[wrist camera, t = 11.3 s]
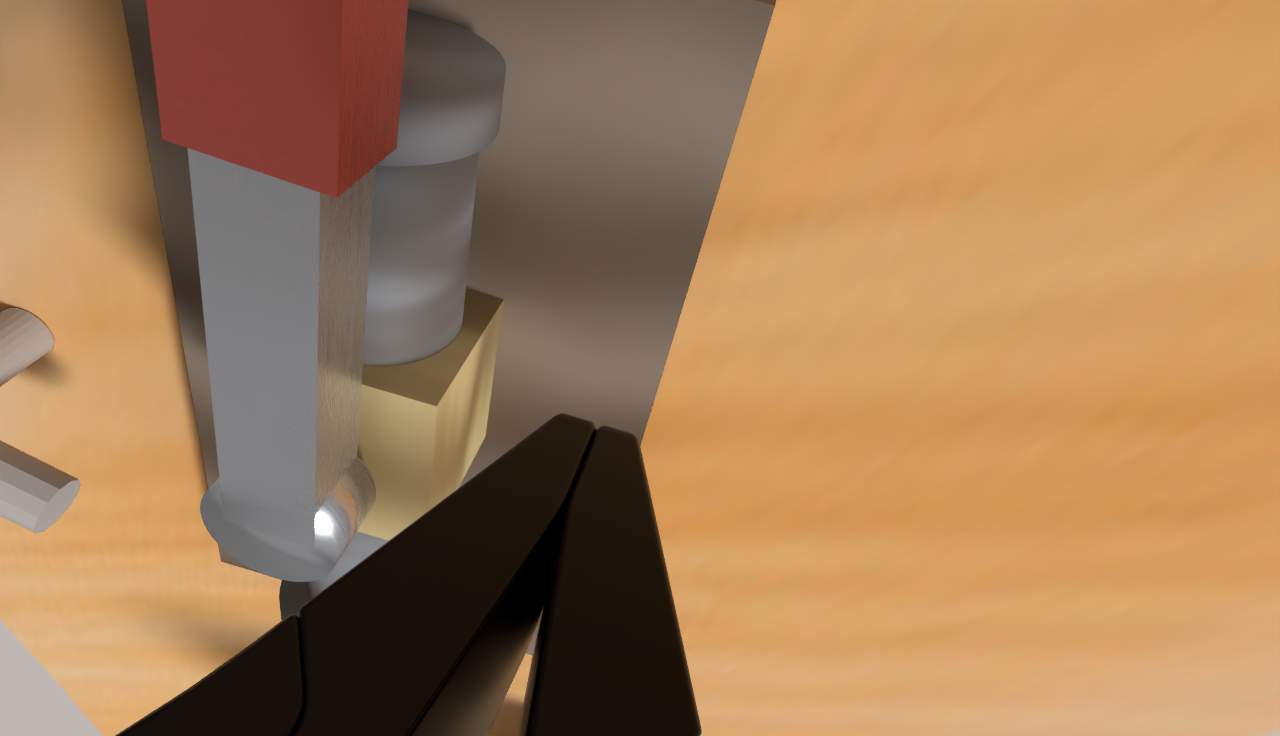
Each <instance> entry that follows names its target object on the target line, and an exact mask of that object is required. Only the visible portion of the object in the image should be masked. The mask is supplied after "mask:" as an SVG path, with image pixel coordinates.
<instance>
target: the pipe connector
mask: <svg viewBox="0 0 1280 736" xmlns="http://www.w3.org/2000/svg"><path fill="white" fill-rule="evenodd" d="M53 346H54V339H53V336H52V334H51V332H50V331H49V329H48V328H47V326H46V325H45V324H44V323H43V322H42V321H41V320H40V319H38V318H37V317H36V316H34V315H33V314H31V313H29V312H27V311H25V310H23V309H19V308H8V309H5V310H4V311H2V312H1V313H0V387H1V386H2V385H3V384H5V383H6V382H8V381H9V380H10V379H12V378H13V377H14V376H16V375H17V374H19V373H20V372H21V371H23V370H24V369H26V368H27V367H28V366H30V365H31V364H32V363H34V362H35V361H37V360H38V359H39V358H41V357H42V356H44V355H45V354H46V353H48V352H49V351H50V350H51V349H52V348H53ZM79 488H80V481H79V479H77V478H75V477H73V476H71V475H69V474H67V473H65V472H63V471H61V470H59V469H57V468H55V467H53V466H51V465H49V464H47V463H45V462H43V461H41V460H39V459H37V458H35V457H33V456H31V455H29V454H26V453H24V452H22V451H20V450H18V449H16V448H14V447H12V446H10V445H8V444H6V443H4V442H2V441H0V516H1V517H3V518H5V519H7V520H9V521H11V522H13V523H16V524H18V525H20V526H22V527H24V528H26V529H28V530H30V531H32V532H34V533H39V532H43V531H45V530H46V529H48V528H49V527H50V526H51V525H53V524H54V523H55V522H56V521H57V520H58V519H59V518H60V517H61V516H62V515H63V514H64V512H65V511H66V510H67V509H68V508H69V506H70V505H71V503H72V502H73V500H74V499H75V497H76V496H77V493H78V490H79Z"/></svg>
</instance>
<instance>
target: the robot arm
mask: <svg viewBox="0 0 1280 736" xmlns="http://www.w3.org/2000/svg"><path fill="white" fill-rule="evenodd" d="M541 615H542V616H541ZM540 618H541V620H540ZM539 620H540V625H539V629H538V634H537V638H536V643H535V647H534V652H533V657H532V662H531V667H530V673H529V678H528V683H527V688H526V693H525V698H524V704H523V709H522V714H521V719H520V724H519V730H518V735H517V736H700V735H701V732H702V730H701V725H700V720H699V716H698V711H697V706H696V702H695V697H694V693H693V688H692V683H691V679H690V674H689V669H688V665H687V660H686V656H685V651H684V646H683V642H682V637H681V633H680V628H679V623H678V619H677V614H676V610H675V605H674V600H673V596H672V591H671V586H670V582H669V577H668V573H667V568H666V563H665V559H664V554H663V550H662V545H661V540H660V536H659V531H658V527H657V522H656V517H655V513H654V508H653V503H652V499H651V494H650V490H649V485H648V480H647V476H646V471H645V467H644V462H643V457H642V453H641V448H640V444H639V440H638V438H637V436H636V435H635V434H633V433H630V432H626V431H623V430H619V429H616V428H613V427H609V426H605V425H603V426H600V427H599V428H598V429H597V428H596V425H595V424H594V422H592V421H589V420H585V419H582V418H578V417H575V416H572V415H568V414H564V413H561V414H557V415H556V416H554V417H553V418H551V419H550V420H549V421H547V422H546V423H545V424H543V425H542V426H541V427H539V428H538V429H537V430H535V431H534V432H533V433H531V434H530V435H529V436H527V437H526V438H525V439H523V440H522V441H521V442H519V443H518V444H517V445H516V446H514V447H513V448H512V449H510V450H509V451H508V452H506V453H505V454H504V455H502V456H501V457H500V458H498V459H497V460H496V461H494V462H493V463H492V464H490V465H489V466H488V467H486V468H485V469H484V470H482V471H481V472H480V473H478V474H477V475H476V476H474V477H473V478H472V479H470V480H469V481H468V482H466V483H465V484H464V485H462V486H461V487H460V488H458V489H457V490H456V491H454V492H453V493H452V494H450V495H449V496H448V497H446V498H445V499H444V500H442V501H441V502H440V503H438V504H437V505H436V506H434V507H433V508H432V509H430V510H429V511H428V512H427V513H425V514H424V515H423V516H421V517H420V518H419V519H417V520H416V521H415V522H413V523H412V524H411V525H409V526H408V527H407V528H405V529H404V530H403V531H401V532H400V533H399V534H397V535H396V536H395V537H393V538H392V539H391V540H389V541H388V542H387V543H385V544H384V545H383V546H381V547H380V548H379V549H377V550H376V551H375V552H373V553H372V554H371V555H369V556H368V557H367V558H365V559H364V560H363V561H361V562H360V563H359V564H357V565H356V566H355V567H353V568H352V569H351V570H349V571H348V572H347V573H345V574H344V575H343V576H341V577H340V578H339V579H337V580H336V581H335V582H334V583H332V584H331V585H330V586H328V587H327V588H326V589H324V590H323V591H322V592H320V593H319V594H318V595H316V596H315V597H314V598H312V599H311V600H310V601H308V602H307V603H306V604H304V605H303V606H302V607H300V608H299V610H298V617H297V616H296V615H294V614H292V615H289V616H288V617H286V618H285V619H284V620H282V621H281V622H280V623H278V624H277V625H276V626H274V627H273V628H272V629H270V630H269V631H268V632H266V633H265V634H264V635H263V636H261V637H260V638H259V639H257V640H256V641H255V642H253V643H252V644H251V645H249V646H248V647H246V648H245V649H244V650H242V651H241V652H239V653H238V654H237V655H235V656H234V657H232V658H231V659H230V660H228V661H227V662H225V663H224V664H223V665H221V666H220V667H218V668H217V669H216V670H214V671H213V672H211V673H210V674H209V675H207V676H206V677H204V678H203V679H201V680H200V681H199V682H197V683H196V684H194V685H193V686H192V687H190V688H189V689H187V690H186V691H184V692H183V693H181V694H179V695H178V696H176V697H175V698H173V699H172V700H170V701H169V702H167V703H165V704H164V705H162V706H161V707H159V708H158V709H156V710H154V711H153V712H151V713H150V714H148V715H147V716H145V717H144V718H142V719H140V720H139V721H137V722H136V723H134V724H133V725H131V726H130V727H128V728H126V729H125V730H123V731H122V732H120V733H119V734H117V735H116V736H487V734H488V732H489V730H490V728H491V726H492V724H493V721H494V719H495V717H496V715H497V713H498V711H499V709H500V706H501V704H502V702H503V700H504V698H505V696H506V694H507V692H508V689H509V687H510V685H511V683H512V681H513V679H514V677H515V675H516V672H517V670H518V668H519V666H520V664H521V662H522V660H523V658H524V655H525V653H526V651H527V649H528V647H529V644H530V642H531V640H532V638H533V635H534V633H535V631H536V628H537V626H538V623H539Z"/></svg>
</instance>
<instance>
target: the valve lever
mask: <svg viewBox="0 0 1280 736" xmlns="http://www.w3.org/2000/svg"><path fill="white" fill-rule="evenodd" d="M146 4H147V12H148V21H149V29H150V38H151V46H152V55H153V64H154V72H155V81H156V89H157V98H158V106H159V115H160V123H161V132H162V139H163V140H165V141H168V142H171V143H174V144H177V145H180V146H183V147H186V148H188V159H189V169H190V179H191V190H192V200H193V210H194V221H195V231H196V241H197V252H198V262H199V272H200V283H201V293H202V303H203V314H204V324H205V334H206V345H207V355H208V365H209V376H210V386H211V396H212V407H213V417H214V427H215V438H216V448H217V458H218V469H219V478H218V479H217V481H216V482H215V483H214V484H213V485H212V486H211V487H210V488H209V490H208V491H207V492H206V493H205V494H204V496H203V498H202V500H201V505H200V510H201V516H202V519H203V522H204V525H205V526H206V528H207V530H208V532H209V533H210V534H211V536H212V537H213V538H214V540H215V541H216V542H217V543H218V544H219V545H220V546H221V547H222V548H223V549H224V550H225V551H226V552H228V553H229V554H230V555H231V556H233V557H234V558H235V559H237V560H238V561H240V562H241V563H243V564H244V565H246V566H248V567H250V568H252V569H254V570H256V571H258V572H260V573H262V574H265V575H268V576H271V577H274V578H277V579H281V580H286V581H294V582H309V581H315V580H318V579H321V578H323V577H325V576H327V575H328V574H329V573H330V572H332V570H333V569H334V567H335V566H336V564H337V563H338V561H339V559H340V558H341V556H342V555H343V553H344V552H345V550H346V548H347V547H348V545H349V544H350V542H351V540H352V539H353V537H354V536H355V534H356V532H357V531H358V529H359V528H360V526H361V525H362V523H363V521H364V520H365V518H366V517H367V515H368V513H369V512H370V510H371V509H372V507H373V505H374V503H375V499H376V487H375V483H374V480H373V477H372V475H371V473H370V471H369V470H368V468H367V467H366V465H365V464H364V463H363V462H362V460H361V459H360V458H359V457H358V456H357V451H358V435H359V418H360V402H361V386H362V370H363V354H364V338H365V321H366V305H367V289H368V273H369V257H370V241H371V224H372V208H373V192H374V176H375V166H376V165H377V164H378V163H379V162H381V161H382V160H383V159H384V158H385V157H387V156H388V155H389V154H390V153H391V152H393V151H394V150H395V149H396V148H397V139H398V126H399V113H400V101H401V88H402V75H403V63H404V50H405V37H406V25H407V12H408V0H146Z"/></svg>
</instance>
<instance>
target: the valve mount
mask: <svg viewBox="0 0 1280 736" xmlns="http://www.w3.org/2000/svg"><path fill="white" fill-rule="evenodd" d="M122 2H123V7H124V13H125V19H126V24H127V30H128V36H129V41H130V47H131V53H132V58H133V64H134V70H135V75H136V81H137V87H138V92H139V98H140V104H141V109H142V115H143V121H144V127H145V132H146V138H147V144H148V149H149V155H150V161H151V166H152V172H153V178H154V183H155V189H156V195H157V200H158V206H159V212H160V217H161V223H162V229H163V234H164V240H165V246H166V251H167V257H168V263H169V268H170V274H171V280H172V285H173V291H174V297H175V302H176V308H177V314H178V319H179V325H180V331H181V336H182V342H183V348H184V353H185V359H186V365H187V370H188V376H189V382H190V387H191V393H192V399H193V404H194V410H195V416H196V421H197V427H198V433H199V438H200V444H201V450H202V455H203V461H204V467H205V472H206V478H207V484H208V489H209V488H210V487H211V486H212V485H213V484H214V483H215V482H216V481H217V479H218V478H219V469H218V458H217V448H216V438H215V427H214V417H213V407H212V396H211V386H210V376H209V365H208V355H207V345H206V334H205V324H204V314H203V303H202V293H201V283H200V272H199V262H198V252H197V241H196V231H195V221H194V210H193V200H192V190H191V179H190V169H189V159H188V148H186V147H183V146H180V145H177V144H174V143H171V142H168V141H165V140H163V139H162V132H161V123H160V115H159V106H158V98H157V89H156V81H155V72H154V64H153V55H152V46H151V38H150V29H149V21H148V12H147V4H146V0H122ZM775 3H776V0H408V12H407V25H406V37H405V50H404V63H403V75H402V88H401V101H400V113H399V126H398V139H397V148H396V149H395V150H394V151H393V152H391V153H390V154H389V155H388V156H387V157H385V158H384V159H383V160H382V161H381V162H379V163H378V164H377V165H376V166H375V176H374V192H373V208H372V224H371V241H370V257H369V273H368V289H367V305H366V321H365V338H364V354H363V370H362V386H361V402H360V418H359V435H358V451H357V456H358V457H359V458H360V459H361V460H362V462H363V463H364V464H365V465H366V467H367V468H368V470H369V471H370V473H371V475H372V477H373V480H374V483H375V487H376V499H375V503H374V505H373V507H372V509H371V510H370V512H369V513H368V515H367V517H366V518H365V520H364V521H363V523H362V525H361V526H360V528H359V529H358V531H357V532H356V534H355V536H354V537H353V539H352V540H351V542H350V544H349V545H348V547H347V548H346V550H345V552H344V553H343V555H342V556H341V558H340V559H339V561H338V563H337V564H336V566H335V567H334V569H333V570H332V572H330V573H329V574H328V575H327V576H325V577H323V578H321V579H318V580H315V581H309V582H294V581H286V580H282V583H281V587H280V595H279V600H280V610H281V619H282V620H284V619H285V618H286V617H288V616H289V615H292V614H294V615H296V616H297V617H298V610H299V608H300V607H302V606H303V605H304V604H306V603H307V602H308V601H310V600H311V599H312V598H314V597H315V596H316V595H318V594H319V593H320V592H322V591H323V590H324V589H326V588H327V587H328V586H330V585H331V584H332V583H334V582H335V581H336V580H337V579H339V578H340V577H341V576H343V575H344V574H345V573H347V572H348V571H349V570H351V569H352V568H353V567H355V566H356V565H357V564H359V563H360V562H361V561H363V560H364V559H365V558H367V557H368V556H369V555H371V554H372V553H373V552H375V551H376V550H377V549H379V548H380V547H381V546H383V545H384V544H385V543H387V542H388V541H389V540H391V539H392V538H393V537H395V536H396V535H397V534H399V533H400V532H401V531H403V530H404V529H405V528H407V527H408V526H409V525H411V524H412V523H413V522H415V521H416V520H417V519H419V518H420V517H421V516H423V515H424V514H425V513H427V512H428V511H429V510H430V509H432V508H433V507H434V506H436V505H437V504H438V503H440V502H441V501H442V500H444V499H445V498H446V497H448V496H449V495H450V494H452V493H453V492H454V491H456V490H457V489H458V488H460V487H461V486H462V485H464V484H465V483H466V482H468V481H469V480H470V479H472V478H473V477H474V476H476V475H477V474H478V473H480V472H481V471H482V470H484V469H485V468H486V467H488V466H489V465H490V464H492V463H493V462H494V461H496V460H497V459H498V458H500V457H501V456H502V455H504V454H505V453H506V452H508V451H509V450H510V449H512V448H513V447H514V446H516V445H517V444H518V443H519V442H521V441H522V440H523V439H525V438H526V437H527V436H529V435H530V434H531V433H533V432H534V431H535V430H537V429H538V428H539V427H541V426H542V425H543V424H545V423H546V422H547V421H549V420H550V419H551V418H553V417H554V416H556V415H557V414H561V413H564V414H568V415H572V416H575V417H578V418H582V419H585V420H589V421H592V422H594V424H595V425H596V428H597V429H598V428H599V427H600V426H603V425H605V426H609V427H613V428H616V429H619V430H623V431H626V432H630V433H633V434H635V435H636V436H637V438H638V440H639V444H640V445H641V441H642V438H643V435H644V432H645V428H646V425H647V422H648V419H649V415H650V412H651V409H652V406H653V402H654V399H655V396H656V392H657V389H658V386H659V383H660V379H661V376H662V373H663V370H664V366H665V363H666V360H667V356H668V353H669V350H670V347H671V343H672V340H673V337H674V334H675V330H676V327H677V324H678V321H679V317H680V314H681V311H682V307H683V304H684V301H685V298H686V294H687V291H688V288H689V285H690V281H691V278H692V275H693V272H694V268H695V265H696V262H697V258H698V255H699V252H700V249H701V245H702V242H703V239H704V236H705V232H706V229H707V226H708V223H709V219H710V216H711V213H712V209H713V206H714V203H715V200H716V196H717V193H718V190H719V187H720V183H721V180H722V177H723V173H724V170H725V167H726V164H727V160H728V157H729V154H730V151H731V147H732V144H733V141H734V138H735V134H736V131H737V128H738V124H739V121H740V118H741V115H742V111H743V108H744V105H745V102H746V98H747V95H748V92H749V89H750V85H751V82H752V79H753V75H754V72H755V69H756V66H757V62H758V59H759V56H760V53H761V49H762V46H763V43H764V39H765V36H766V33H767V30H768V26H769V23H770V20H771V17H772V13H773V10H774V7H775ZM218 546H219V552H220V557H221V561H222V562H225V563H228V564H232V565H235V566H238V567H242V568H245V569H248V570H252V571H255V572H258V571H256V570H254V569H252V568H250V567H248V566H246V565H244V564H243V563H241V562H240V561H238V560H237V559H235V558H234V557H233V556H231V555H230V554H229V553H228V552H226V551H225V550H224V549H223V548H222V547H221V546H220V545H219V544H218ZM258 573H260V572H258ZM541 616H542V615H541ZM540 620H541V618H540ZM540 620H539V623H538V626H537V628H536V631H535V633H534V635H533V638H532V640H531V642H530V644H529V647H528V649H527V651H526V653H527V654H531V655H533V652H534V647H535V643H536V638H537V634H538V629H539V625H540Z"/></svg>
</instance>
